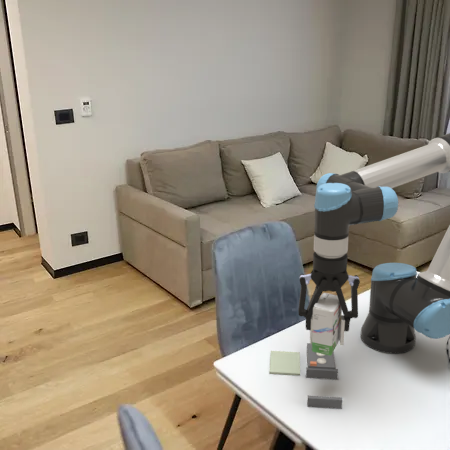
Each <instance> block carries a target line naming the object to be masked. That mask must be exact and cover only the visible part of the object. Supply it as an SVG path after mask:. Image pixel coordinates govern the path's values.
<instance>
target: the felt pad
mask: <svg viewBox="0 0 450 450" xmlns="http://www.w3.org/2000/svg"><path fill="white" fill-rule="evenodd" d="M269 358H270V359H269V371H268V372H269V373H268V374H269V375H281V376H297V377H298V376H299V377H300V376H301V353H300V352H299V351H284V350H283V351H281V350H270V357H269Z"/></svg>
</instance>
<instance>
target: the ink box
mask: <svg viewBox="0 0 450 450" xmlns="http://www.w3.org/2000/svg"><path fill="white" fill-rule="evenodd" d="M341 315H343V312H342V308H341V305H340V302H339V299H338V296H337V294H332V293H327V292H322V294H321V296H320V298H319V300H318V303H315V305H314V307H313V326H312V351H313V352H316V353H321V354H325V355H330V356H331V355H332V353H333V351H334V352H335V349H336V347H337V345H338V343H340V341H339V334H340V316H341Z"/></svg>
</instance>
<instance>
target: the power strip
mask: <svg viewBox="0 0 450 450" xmlns="http://www.w3.org/2000/svg"><path fill="white" fill-rule="evenodd" d="M306 362H307V364H306V365H307V366H306V368H305V378H306V379H307V378H308V379H322V380H323V379H325V380H339V379H338V378H339V369H338V368H337V366H336V358H335V350H334V351H333V353H332V355H331V356H330V355H325V354H321V353H316V352H313V351H312V344H310V342H307V343H306ZM306 402H307V404H306V405H307V408H318V409H319V408H320V409H335V410H337V409H338V410H342V409H343V397H342V396H341V397H338V396H326V395H325V396H323V395H310V394H309V395H307V401H306Z"/></svg>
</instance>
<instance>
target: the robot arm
mask: <svg viewBox="0 0 450 450" xmlns="http://www.w3.org/2000/svg"><path fill="white" fill-rule="evenodd" d="M449 172H450V132H449V133H446V134H444V135H440V136H437V137H435V138H432V139H430V141H429V142H428V143H427V144H426V145H423V146H421V147H418V148H415V149H412V150H408V151H406V152H403V153H401V154H397V155H395V156H392V157H388V158H386V159H383V160H379V161H377V162H374V163H371V164H368V165H366V166H363V167H360V168H358V169H355V170H351V171H349V172H346V173H343V174H338V173H334V172H329V173H326V174H323V175H322V176H320V178H319V179H318V181H317V183H316V188H315V190H316V191H315V197H314V200H315V201H314V204H313V205H314V224H313V225H314V227H313V229H314V231H313V232H314V233H313V234H314V235H313V251H314V252H313V256H312V259H313V260H312V270H311V271H310V273H307V274H304V273H300V274H299V283H300V293H299V299H298V300H299V301H298V316H299V317H304V318H305V330H306V331H309V343H310V344H312V326H313V307H314V305H315V303H318V300H319V298H320V297H321V295H322V294H323V293H324V292H333V293H334V292H335V293H336V295H337V296H338V299H339V302H340V305H341V308H342V315H341V316H340V334H339V346H344V344H345V343H344V341H345V332H349V331H350V322H351V319H358V318H359V317H358V316H359V302H358V301H359V300H358V298H359V297H358V289H359V286H360V284H361V281H360V278H359V275H357V274H355V275H354V276H353V275H350V274H349V273H348V272H347V271H348V270H347V269H348V267H347V266H348V250H349V234H350V233H349V232H350V226H355V225H359V224H367V223H372V222H373V223H374V222H382V221H385V220H388V219H391V218H393V217H395V215H397V212H398V210H399V209H398V208H399V198H398V195H397V193H396V191H395V190H394V188H397V187H399V186H403V185H405V184H408V183H410V182H413V181H417V180H418V179H421V178H424V177H428V176H430V175H433V174H435V173H440V174H446V173H449ZM371 274H372V275H371V278H370V292H369V294H370V295H369V308H368V313H367V316H366V318H365V320H364V322H363V324H362V327H361V331H360V339H361V341H362V342H363V343H364V344H365V345H366V346H367V347H369V348H371V349H373V350H375V351H378V352H382V353H386V354H405V353H407V352H410V351H411V350H413V348H414V347H415V346H416V339H417V337H416V336H417V335H416V332H417V333H418V334H419V333H420V334H422V335H424V336H425V337H427V338H430V339H433V340H437V339H442V338H443V339H444V338H446V337H447V336H450V224H449V225H448V227H447V229H446V231H445V234H444V235H443V237H442V240H441V242H440V244H439V245H438V248H437V250H436V252H435V253H434V256H433V258H432V260H431V262H430V264H429V265H428V267H427V270H425V271H423V272H417V268H416V266H414V265H411V264H408V263H403V262H386V263H380V264H378V265H376V266H375V267H374V268H373V269H372V273H371ZM310 281H312V282H313V283H314V284H315V288H314V291H313V293H312V295H311V298H310V300H309V303H308V306H307V308H305V307H306V297H307V285H309V284H310ZM346 282H348V283H349V284H348V285H349V286H350V298H351V299H350V301H351V303H350V305H351V310H349V308H348V306H347V303H346V299H345V296H344V293H343V291H342V287H343V286H344V285H345V283H346ZM415 331H416V332H415Z"/></svg>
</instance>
